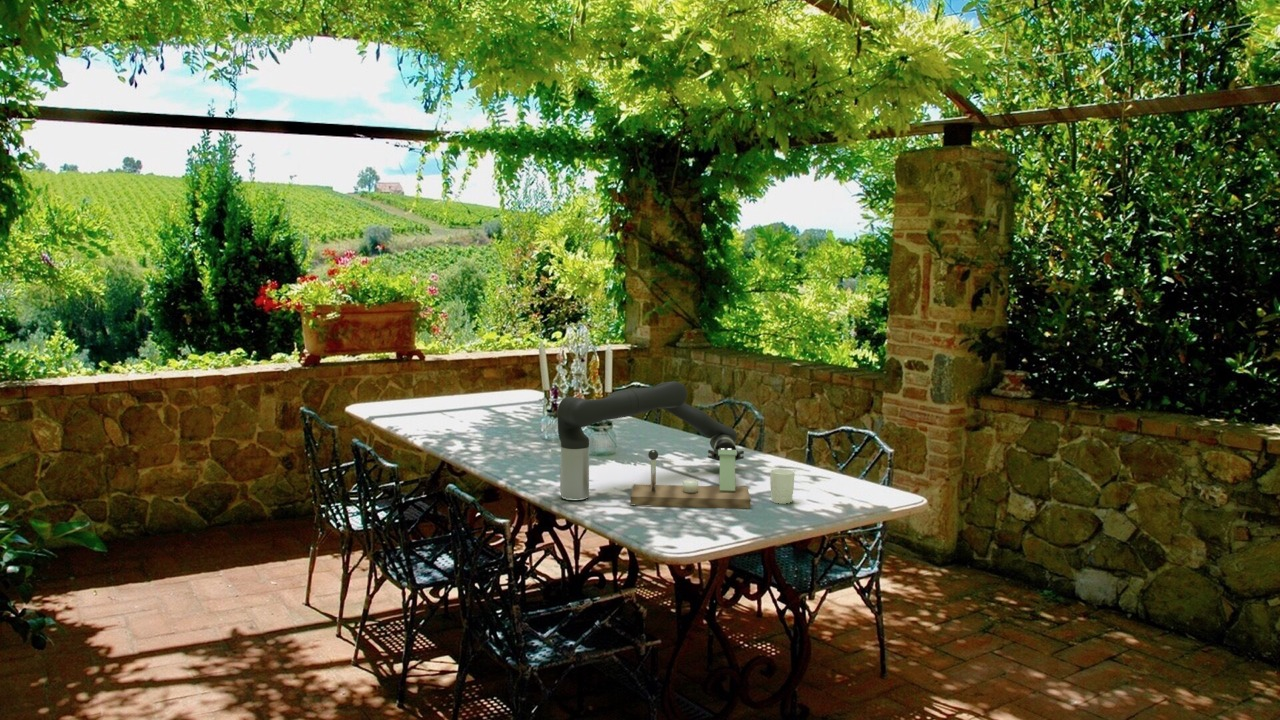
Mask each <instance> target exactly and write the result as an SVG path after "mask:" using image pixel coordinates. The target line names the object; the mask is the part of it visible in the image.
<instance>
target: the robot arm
mask: <svg viewBox="0 0 1280 720" xmlns="http://www.w3.org/2000/svg"><path fill="white" fill-rule="evenodd" d="M687 398H688V389H687V387H686V386H685V385H684V384H683V383H681V382H679V381H676V380H675V381H665V382H660V383H657V384H656V385H654V387H635V388H626V389H621V390H616V391H613V392H611V393H610V394H608V395H607V396H605V397H603V398H597V399H595V398H594V399H585V398H580V397H574V396H565V397H564V398H563V399H561V401H560V402H559V405H558V407H557V431H558V432H557V433H558V434H557V435H558V438H559V441H560V469H559V470H560V471H559V473H560V474H559V482H560V483H559V485H560V486H559V488H560V489H559V493H561V496H563V497H566V498H572V499H580V498H586V497H588V496H589V497H590V439H589V437H588V436H587V435H586V434H585V433H584V431H583V429H582V428H584V427H588V426H591V425H594V424H597V423H600V422H602V421H608V420H617V419H622V418H628V417H634V416H636V415H641V414H643V413H648V412H650V411H652V410H656V409H657V410H658V409H662V410H664V411H666V412H668V413H670V414H671V415H673V416H676V417H677V418H679V419H680V420H682V421H684V423H687V424H688V425H689V426H691V427H692V428H694V429H695V430H696V431H697V433H700V434H701V435H702V436H704V437H705V438H706V439H710V440H709V444H710V447H711V449H712V450H708V451H707V458H708V459H711V460H716V461H719V462H720V456H718V450H737V447H736V444H735V442H737V440H738V433H737V431H736V430H735V429H734V428H732V427H731V426H729V425H726V424H723V423H721V422H719V421H717V420H715V419H714V418H713V417H711V415H709V414H708V413H707V412H705V411H704V410H701V409H699V408H697V407H695V406H692V405H690V404H688V403H686V401H687ZM743 459H745V451H744V450H740V451H739V450H737V456H735V462H736V461H739V460H743ZM561 496H560V497H561Z"/></svg>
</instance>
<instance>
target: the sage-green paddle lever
mask: <svg viewBox="0 0 1280 720" xmlns="http://www.w3.org/2000/svg"><path fill="white" fill-rule="evenodd" d="M737 451H738V450H737V449H736V450H718V456H720V460H719V486H720V491H735V487H736V461H735V456H737Z"/></svg>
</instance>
